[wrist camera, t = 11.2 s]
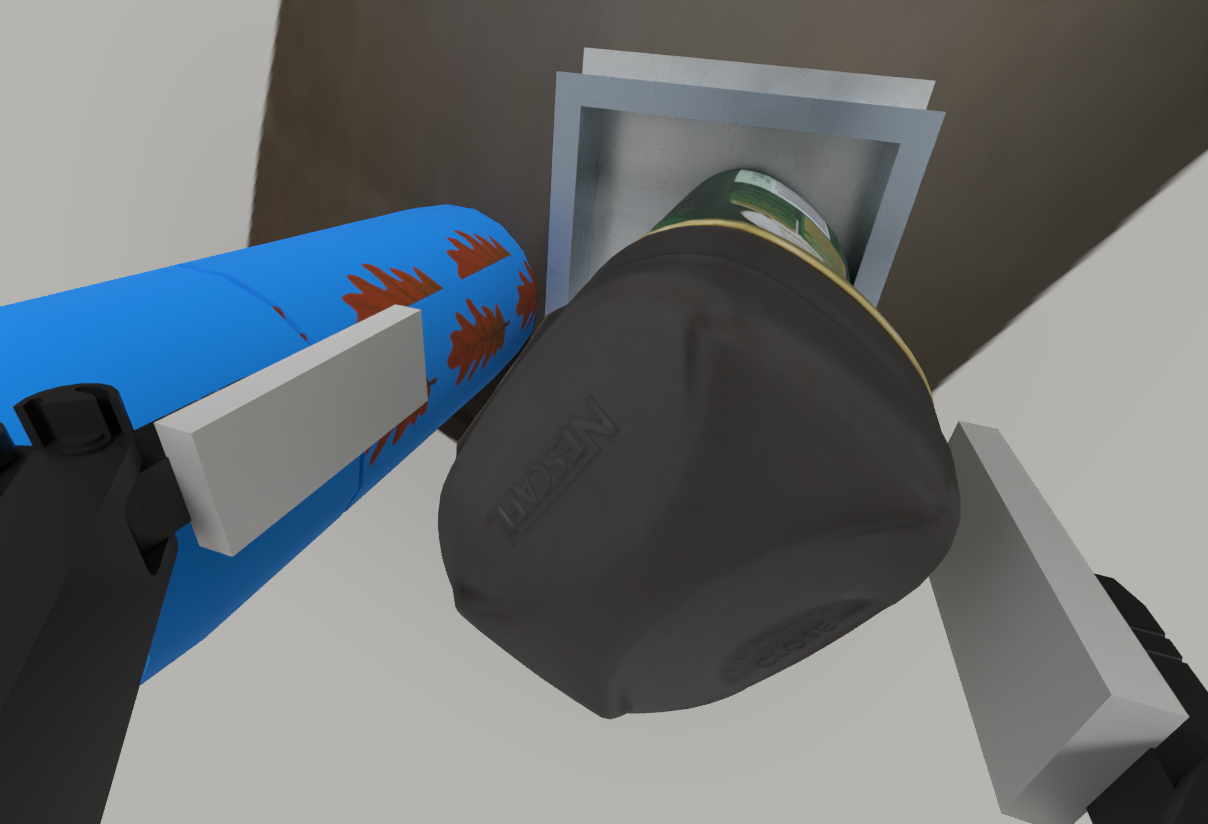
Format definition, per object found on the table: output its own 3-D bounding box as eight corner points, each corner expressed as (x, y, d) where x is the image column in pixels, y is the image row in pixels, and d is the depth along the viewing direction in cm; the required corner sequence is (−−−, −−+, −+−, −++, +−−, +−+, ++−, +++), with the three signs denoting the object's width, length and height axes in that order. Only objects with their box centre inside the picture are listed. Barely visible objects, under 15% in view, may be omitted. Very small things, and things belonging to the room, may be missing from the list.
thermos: (392, 348, 39) (-80, 626, 17) (380, 187, 33) (-318, 304, 12) (536, 384, 37) (201, 745, 16) (547, 219, 31) (62, 423, 10)
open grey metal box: (903, 89, 24) (959, 74, 17) (798, 418, 33) (804, 508, 25) (621, 61, 27) (558, 37, 19) (591, 373, 35) (538, 443, 28)
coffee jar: (721, 413, 27) (648, 816, 11) (595, 312, 27) (333, 590, 11) (881, 258, 22) (1152, 592, 6) (732, 130, 22) (621, 145, 6)
